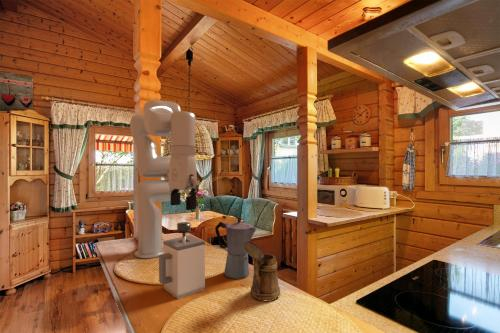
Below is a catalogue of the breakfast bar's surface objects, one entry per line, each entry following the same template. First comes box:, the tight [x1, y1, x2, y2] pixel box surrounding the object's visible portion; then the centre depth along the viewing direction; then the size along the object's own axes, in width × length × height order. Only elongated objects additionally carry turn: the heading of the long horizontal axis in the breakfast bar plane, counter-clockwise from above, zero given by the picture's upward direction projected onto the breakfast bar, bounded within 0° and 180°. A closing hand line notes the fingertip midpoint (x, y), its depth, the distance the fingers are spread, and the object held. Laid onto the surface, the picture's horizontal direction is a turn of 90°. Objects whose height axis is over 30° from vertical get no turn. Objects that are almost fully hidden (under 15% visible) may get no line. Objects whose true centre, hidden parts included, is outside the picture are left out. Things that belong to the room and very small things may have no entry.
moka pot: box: [214, 217, 258, 280], centre depth 98 cm, size 10×15×20 cm, turn 78°
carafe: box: [158, 235, 206, 300], centre depth 86 cm, size 9×12×15 cm
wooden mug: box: [244, 240, 281, 301], centre depth 82 cm, size 9×14×18 cm, turn 146°
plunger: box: [176, 221, 191, 243], centre depth 87 cm, size 6×6×16 cm
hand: (183, 207), depth 87 cm, fingers open, 9 cm apart
